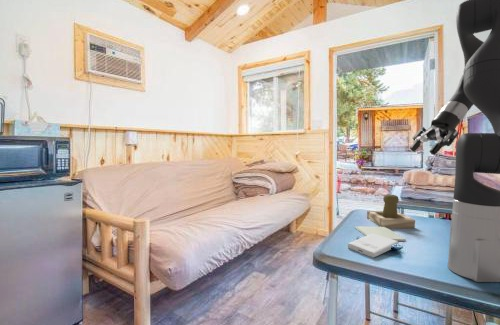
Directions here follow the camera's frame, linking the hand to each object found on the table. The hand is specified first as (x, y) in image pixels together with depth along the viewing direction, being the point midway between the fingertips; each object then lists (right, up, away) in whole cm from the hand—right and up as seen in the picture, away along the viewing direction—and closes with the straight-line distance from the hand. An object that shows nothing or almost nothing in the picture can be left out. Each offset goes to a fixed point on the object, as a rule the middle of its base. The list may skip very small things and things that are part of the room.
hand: (421, 151), depth 95 cm
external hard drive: (-27, -29, -19) cm, 43 cm away
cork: (-8, -28, +6) cm, 29 cm away
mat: (-19, -28, -7) cm, 34 cm away
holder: (-8, -27, +6) cm, 29 cm away
